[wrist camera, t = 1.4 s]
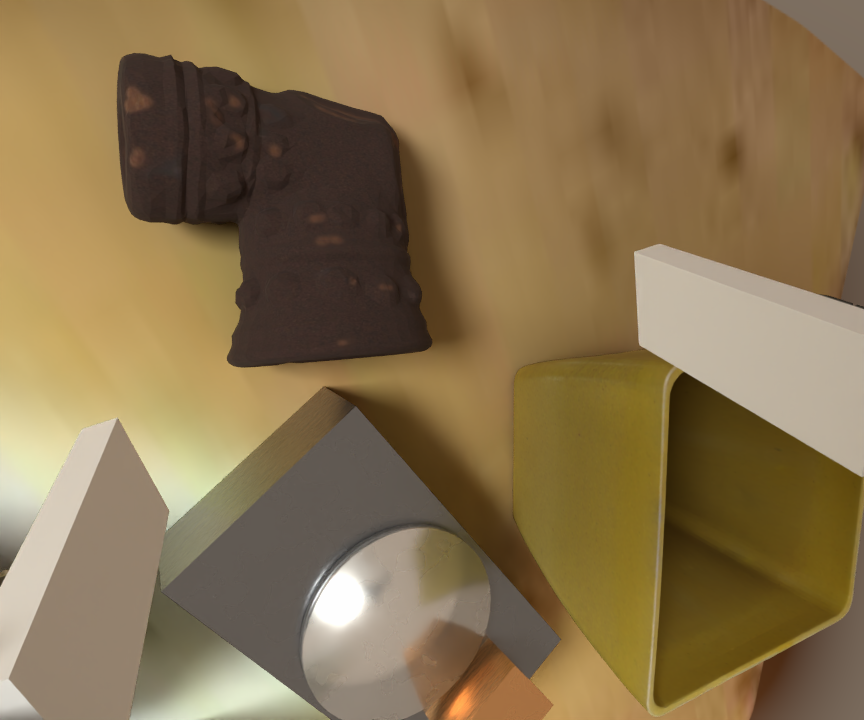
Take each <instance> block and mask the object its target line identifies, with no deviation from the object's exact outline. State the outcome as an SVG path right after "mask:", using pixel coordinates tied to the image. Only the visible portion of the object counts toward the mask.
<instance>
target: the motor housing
mask: <svg viewBox="0 0 864 720" xmlns="http://www.w3.org/2000/svg"><path fill="white" fill-rule="evenodd" d="M159 572H160V584H161V592H162V593H163V594H165V595H166V596H167V597H169V598H170V599H171V600H173V601H174V602H175V603H177V604H178V605H179V606H181V607H182V608H183V609H185V610H186V611H187V612H189V613H190V614H191V615H193V616H194V617H195V618H197V619H198V620H199V621H201V622H202V623H203V624H205V625H206V626H207V627H209V628H210V629H211V630H213V631H214V632H215V633H217V634H218V635H219V636H221V637H222V638H223V639H225V640H226V641H227V642H229V643H230V644H231V645H233V646H234V647H235V648H237V649H238V650H239V651H240V652H242V653H243V654H244V655H246V656H247V657H248V658H250V659H251V660H252V661H254V662H255V663H256V664H258V665H259V666H260V667H262V668H263V669H264V670H266V671H267V672H268V673H270V674H271V675H272V676H274V677H275V678H276V679H278V680H279V681H280V682H282V683H283V684H284V685H286V686H287V687H288V688H290V689H291V690H292V691H294V692H295V693H296V694H298V695H299V696H300V697H302V698H303V699H304V700H306V701H307V702H308V703H310V704H311V705H312V706H314V707H315V708H316V709H318V710H319V711H320V712H322V713H323V714H324V715H326V716H327V717H328V718H330V719H331V720H542V719H543V718H544V716H545V715H546V714H547V712H548V711H549V710H550V709H551V707H552V706H553V704H552V703H551V702H550V701H549V700H548V699H547V698H546V696H545V695H544V694H543V693H542V692H541V691H540V690H539V689H538V688H537V687H536V686H535V685H534V684H533V683H532V682H531V681H530V680H529V679H530V678H531V676H532V675H533V674H534V673H535V671H536V670H537V669H538V668H539V666H540V665H541V664H542V663H543V661H544V660H545V659H546V658H547V656H548V655H549V654H550V653H551V651H552V650H553V649H554V648H555V646H556V645H557V644H558V643H559V641H560V640H561V639H560V638H559V637H558V635H557V634H556V633H555V632H554V631H553V630H552V629H551V627H550V626H549V625H548V624H547V623H546V622H545V621H544V619H543V618H542V617H541V616H540V615H539V614H538V613H537V612H536V610H535V609H534V608H533V607H532V606H531V605H530V604H529V602H528V601H527V600H526V599H525V598H524V597H523V596H522V594H521V593H520V592H519V591H518V590H517V589H516V588H515V586H514V585H513V584H512V583H511V582H510V581H509V580H508V579H507V577H506V576H505V575H504V574H503V573H502V572H501V571H500V569H499V568H498V567H497V566H496V565H495V564H494V563H493V561H492V560H491V559H490V558H489V557H488V556H487V555H486V554H485V552H484V551H483V550H482V549H481V548H480V547H479V546H478V544H477V543H476V542H475V541H474V540H473V539H472V538H471V536H470V535H469V534H468V533H467V532H466V531H465V530H464V528H463V527H462V526H461V525H460V524H459V523H458V522H457V521H456V519H455V518H454V517H453V516H452V515H451V514H450V513H449V511H448V510H447V509H446V508H445V507H444V506H443V505H442V503H441V502H440V501H439V500H438V499H437V498H436V497H435V496H434V494H433V493H432V492H431V491H430V490H429V489H428V488H427V486H426V485H425V484H424V483H423V482H422V481H421V480H420V478H419V477H418V476H417V475H416V474H415V473H414V472H413V470H412V469H411V468H410V467H409V466H408V465H407V464H406V463H405V461H404V460H403V459H402V458H401V457H400V456H399V455H398V453H397V452H396V451H395V450H394V449H393V448H392V447H391V445H390V444H389V443H388V442H387V441H386V440H385V439H384V438H383V436H382V435H381V434H380V433H379V432H378V431H377V430H376V428H375V427H374V426H373V425H372V424H371V423H370V422H369V420H368V419H367V418H366V417H365V416H364V415H363V414H362V413H361V411H360V410H359V409H358V408H357V407H356V406H355V405H353V404H352V403H350V402H348V401H347V400H345V399H344V398H342V397H340V396H339V395H337V394H335V393H334V392H332V391H331V390H329V389H327V388H326V387H323V388H322V389H321V390H320V391H318V392H317V393H316V394H315V395H314V396H313V397H312V398H311V399H310V400H309V401H308V402H307V403H305V404H304V405H303V406H302V407H301V408H300V409H299V410H298V411H297V412H296V413H295V414H294V415H292V416H291V417H290V418H289V419H288V420H287V421H286V422H285V423H284V424H283V425H282V426H281V427H279V428H278V429H277V430H276V431H275V432H274V433H273V434H272V435H271V436H270V437H269V438H268V439H266V440H265V441H264V442H263V443H262V444H261V445H260V446H259V447H258V448H257V449H256V450H255V451H253V452H252V453H251V454H250V455H249V456H248V457H247V458H246V459H245V460H244V461H243V462H241V463H240V464H239V465H238V466H237V467H236V468H235V469H234V470H233V471H232V472H231V473H230V474H228V475H227V476H226V477H225V478H224V479H223V480H222V481H221V482H220V483H219V484H218V485H217V486H215V487H214V488H213V489H212V490H211V491H210V492H209V493H208V494H207V495H206V496H205V497H204V498H202V499H201V500H200V501H199V502H198V503H197V504H196V505H195V506H194V507H193V508H192V509H191V510H189V511H188V512H187V513H186V514H185V515H184V516H183V517H182V518H181V519H180V520H179V521H178V522H176V523H175V524H174V525H173V526H172V527H171V528H170V529H169V530H168V531H167V532H166V533H165V535H164V541H163V546H162V551H161V556H160V561H159Z"/></svg>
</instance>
